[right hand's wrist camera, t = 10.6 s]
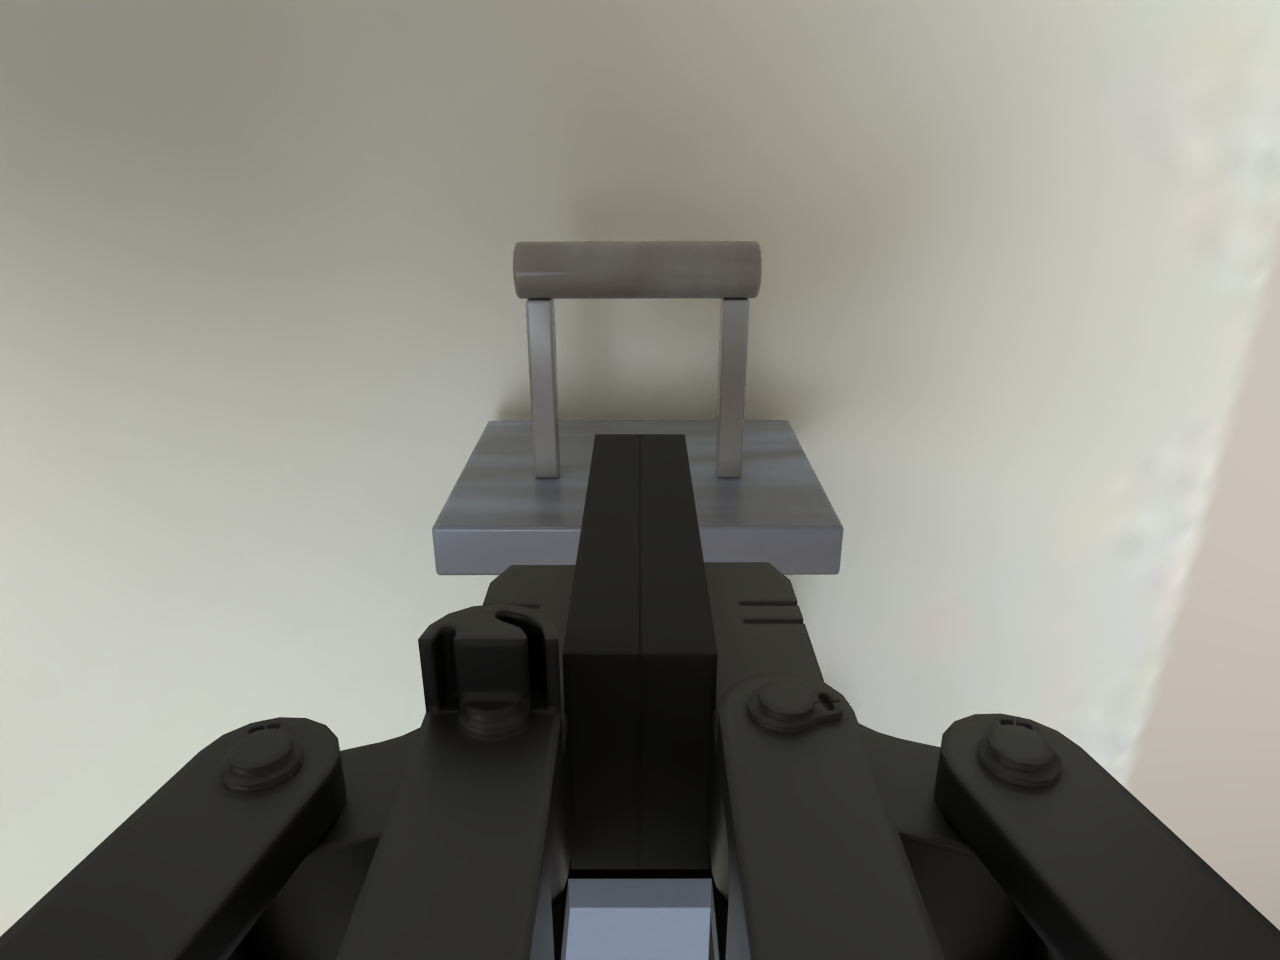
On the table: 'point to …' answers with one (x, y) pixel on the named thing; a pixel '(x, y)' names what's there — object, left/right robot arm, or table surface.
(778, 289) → the table surface
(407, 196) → the table surface
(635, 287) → the drawer
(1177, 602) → the table surface
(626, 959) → the cabinet
